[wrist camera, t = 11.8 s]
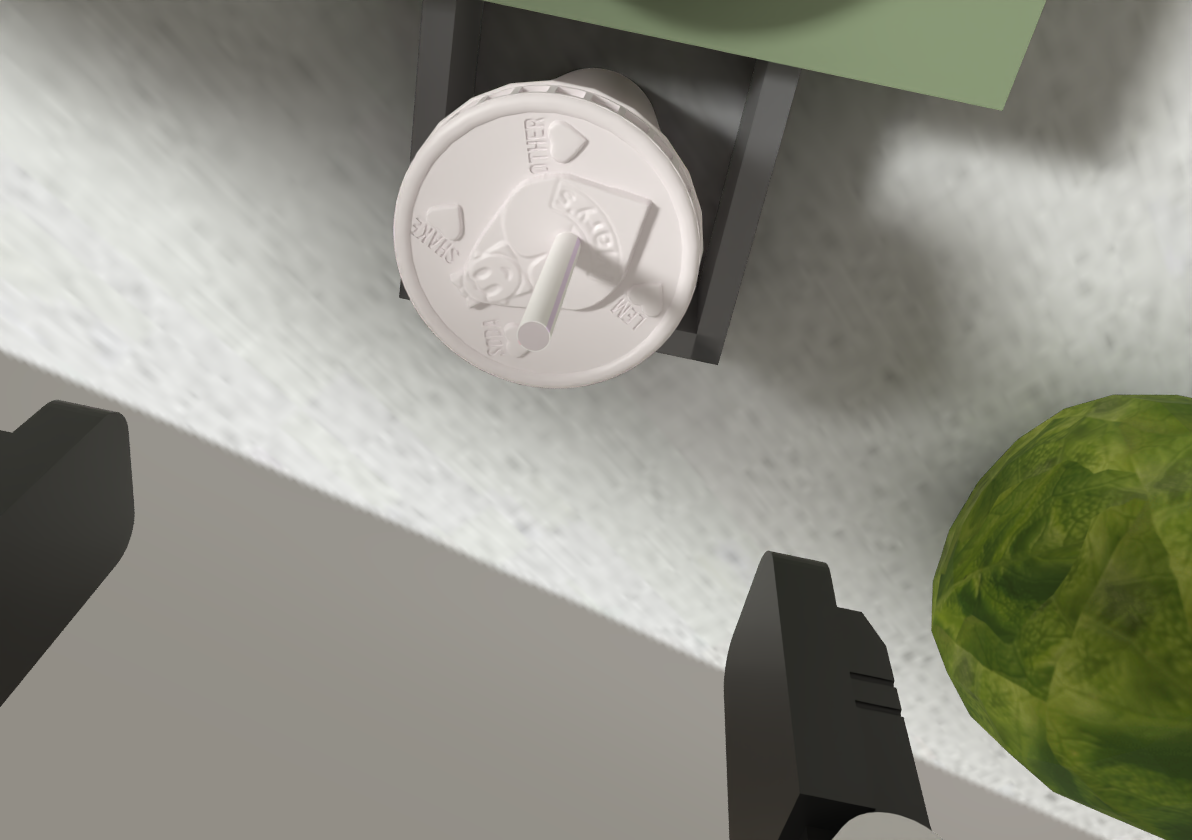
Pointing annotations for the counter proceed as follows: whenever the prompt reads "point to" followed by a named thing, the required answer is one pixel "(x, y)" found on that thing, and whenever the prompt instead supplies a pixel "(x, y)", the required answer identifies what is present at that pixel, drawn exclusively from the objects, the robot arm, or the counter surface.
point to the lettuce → (1083, 607)
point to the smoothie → (550, 231)
